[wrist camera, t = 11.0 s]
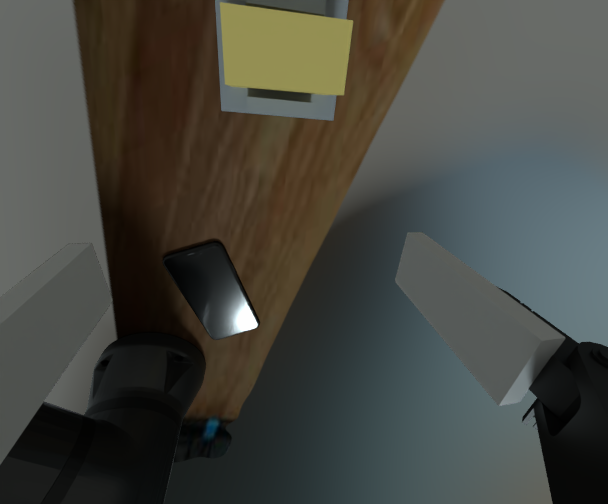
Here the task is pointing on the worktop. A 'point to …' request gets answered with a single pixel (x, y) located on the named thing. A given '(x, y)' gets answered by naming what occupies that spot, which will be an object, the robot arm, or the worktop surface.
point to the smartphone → (212, 289)
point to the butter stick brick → (284, 50)
